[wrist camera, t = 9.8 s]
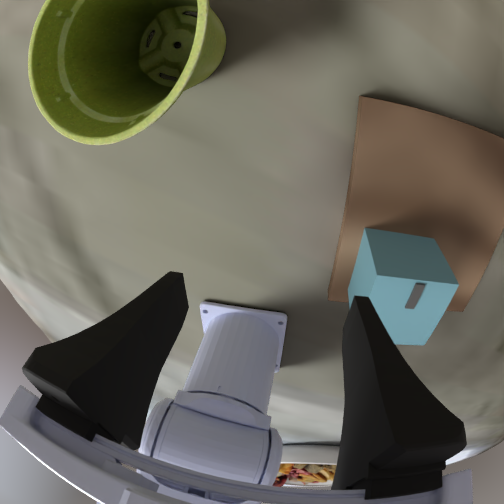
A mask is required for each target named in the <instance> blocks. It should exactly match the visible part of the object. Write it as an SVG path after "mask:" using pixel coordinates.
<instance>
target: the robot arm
mask: <svg viewBox="0 0 504 504" xmlns="http://www.w3.org/2000/svg"><path fill="white" fill-rule="evenodd" d="M188 308H189V305H188V300H187V295H186V289H185V283H184V277H183V273H178V272H172V271H170V272H168V273H167V274H166V275H164V276H163V277H162V278H161V279H159V280H158V281H157V282H156V283H154V284H153V285H152V286H150V287H149V288H148V289H147V290H145V291H144V292H143V293H142V294H140V295H139V296H138V297H136V298H135V299H134V300H132V301H131V302H129V303H128V304H127V305H125V306H124V307H122V308H121V309H120V310H118V311H117V312H115V313H114V314H112V315H111V316H109V317H107V318H106V319H104V320H102V321H101V322H99V323H97V324H95V325H93V326H91V327H89V328H87V329H85V330H83V331H81V332H79V333H77V334H75V335H72V336H70V337H68V338H65V339H62V340H60V341H57V342H54V343H51V344H47V345H44V346H41V347H37V348H35V350H34V351H33V353H32V354H31V356H30V357H29V359H28V360H27V362H26V363H25V365H24V366H23V367H22V370H23V373H24V375H25V376H26V377H27V378H28V380H29V381H30V382H31V383H32V384H33V385H34V386H35V387H36V388H37V389H38V390H39V391H40V392H41V393H42V394H43V395H42V396H41V398H40V399H39V398H38V397H37V396H36V395H34V394H33V393H32V392H30V391H29V390H27V389H26V388H24V387H23V386H21V385H20V386H19V388H18V389H17V391H16V392H15V394H14V396H13V397H12V399H11V401H10V402H9V404H8V406H7V408H6V409H5V411H4V413H3V415H2V417H1V418H0V427H1V428H3V429H4V430H5V431H6V432H7V433H8V434H9V435H10V436H11V437H13V438H14V439H15V440H16V441H17V442H18V443H19V444H20V445H21V446H23V447H24V448H25V449H26V450H27V451H28V452H29V453H31V454H32V455H33V456H34V457H35V458H37V459H38V460H39V461H40V462H41V463H43V464H44V465H45V466H47V467H48V468H49V469H51V470H52V471H53V472H54V473H56V474H57V475H58V476H60V477H61V478H63V479H64V480H66V481H67V482H68V483H70V484H72V485H73V486H74V487H76V488H77V489H79V490H80V491H82V492H84V493H85V494H87V495H88V496H90V497H91V498H93V499H95V500H96V501H97V504H261V502H263V503H271V504H473V489H472V488H473V487H472V470H471V469H467V470H463V471H460V472H455V473H451V474H448V475H445V476H442V470H444V469H445V468H446V462H445V461H446V460H447V459H449V458H451V457H453V456H454V455H456V454H458V453H459V452H460V451H462V450H463V449H464V448H465V447H466V445H467V442H466V434H465V428H464V423H463V422H462V421H461V420H460V419H459V418H457V417H456V416H455V415H454V414H453V413H452V412H450V411H449V410H448V409H447V408H446V407H445V406H444V405H443V404H442V403H441V402H440V401H439V400H438V399H437V398H436V397H435V396H434V395H433V394H432V393H431V392H430V391H429V390H428V389H427V387H426V386H425V385H424V384H423V383H422V382H421V381H420V379H419V378H418V377H417V376H416V374H415V373H414V372H413V370H412V369H411V368H410V366H409V365H408V364H407V362H406V361H405V359H404V358H403V356H402V355H401V353H400V352H399V350H398V349H397V347H396V345H395V344H394V342H393V340H392V339H391V337H390V335H389V333H388V332H387V330H386V328H385V326H384V325H383V323H382V321H381V319H380V317H379V315H378V314H377V312H376V310H375V308H374V306H373V304H372V302H371V300H370V298H369V297H366V296H356V295H354V298H353V301H352V304H351V307H350V310H349V313H348V316H347V319H346V322H345V325H344V328H343V343H342V355H343V371H344V391H345V405H344V417H343V427H342V435H341V442H340V449H339V455H338V460H337V465H336V470H335V475H334V479H333V483H332V487H331V490H312V489H296V488H285V487H275V486H272V485H273V484H274V482H275V479H276V477H277V474H278V471H279V468H280V464H281V459H282V450H283V444H282V439H281V437H280V435H279V433H278V431H277V430H276V429H275V428H271V427H270V423H271V416H268V415H267V410H268V404H269V399H270V394H271V388H272V383H273V377H274V372H279V368H280V362H281V356H282V350H283V343H284V337H285V330H286V324H287V315H286V314H284V313H280V312H272V311H265V310H257V309H250V308H244V307H237V306H230V305H224V304H218V303H212V302H206V301H203V302H201V304H200V311H201V317H202V324H203V330H204V337H203V339H202V342H201V344H200V347H199V349H198V352H197V354H196V357H195V359H194V362H193V365H192V367H191V370H190V372H189V375H188V377H187V380H186V382H185V385H184V388H183V390H182V391H181V390H178V392H177V394H176V397H175V399H174V400H173V399H170V398H165V399H164V400H162V401H160V402H158V403H157V404H156V405H155V406H154V408H153V410H152V411H151V413H150V415H149V417H148V420H147V422H146V425H145V421H146V417H147V413H148V409H149V405H150V402H151V399H152V395H153V392H154V389H155V386H156V383H157V380H158V377H159V374H160V372H161V370H162V367H163V365H164V363H165V361H166V359H167V357H168V355H169V353H170V351H171V349H172V347H173V345H174V343H175V341H176V339H177V336H178V334H179V332H180V330H181V328H182V326H183V323H184V320H185V317H186V314H187V311H188ZM206 310H207V311H206ZM280 321H282V322H280ZM144 425H145V427H144ZM143 429H144V430H143ZM138 448H139V452H136V451H134V450H136V449H138ZM121 463H124V464H126V465H128V466H131V467H133V468H136V469H137V471H136V472H134V471H132V470H130V469H128V468H126V467H123V466H122V464H121Z"/></svg>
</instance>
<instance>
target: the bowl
mask: <svg viewBox="0 0 504 504" xmlns="http://www.w3.org/2000/svg"><path fill="white" fill-rule="evenodd" d="M339 449H340V446H329V445H283V450H282V459H281V464H280V468H279V471H278V474H277V477H276V479H275V482H274V484H273V485H272V486H275V487H281V486H283V485H284V484H286V485H295V486H332V483H333V479H334V475H335V470H336V465H337V460H338V455H339Z"/></svg>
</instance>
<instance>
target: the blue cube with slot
mask: <svg viewBox="0 0 504 504" xmlns="http://www.w3.org/2000/svg"><path fill="white" fill-rule="evenodd" d="M458 286H459V283H458V281H457V279H456V277H455V275H454V273H453V272H452V270H451V268H450V266H449V264H448V262H447V260H446V259H445V257H444V255H443V253H442V251H441V250H440V248H439V246H438V244H437V243H436V241H435V239H433V238H427V237H422V236H415V235H409V234H403V233H397V232H390V231H384V230H377V229H370V228H364V232H363V236H362V240H361V244H360V248H359V251H358V255H357V259H356V263H355V266H354V270H353V274H352V277H351V281H350V284H349V287H348V297H349V309H350V307H351V304H352V301H353V298H354V295H356V296H366V297H369V298H370V300H371V302H372V304H373V306H374V308H375V310H376V312H377V314H378V315H379V317H380V319H381V321H382V323H383V325H384V326H385V328H386V330H387V332H388V333H389V335H390V337H391V339H392V340H393V342H394V344H403V345H425V343H426V342H427V340H428V339H429V337H430V335H431V334H432V332H433V331H434V329H435V327H436V326H437V324H438V322H439V321H440V319H441V317H442V316H443V314H444V312H445V310H446V309H447V307H448V305H449V303H450V301H451V299H452V298H453V296H454V294H455V292H456V290H457V288H458Z"/></svg>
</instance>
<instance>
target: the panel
mask: <svg viewBox="0 0 504 504" xmlns="http://www.w3.org/2000/svg"><path fill="white" fill-rule="evenodd" d="M364 228H370V229H377V230H384V231H390V232H397V233H403V234H409V235H415V236H422V237H427V238H433V239H435V241H436V243H437V244H438V246H439V248H440V250H441V251H442V253H443V255H444V257H445V259H446V260H447V262H448V264H449V266H450V268H451V270H452V272H453V273H454V275H455V277H456V279H457V281H458V283H459V286H458V288H457V290H456V292H455V294H454V296H453V298H452V299H451V301H450V303H449V305H448V307H447V309H446V310H445V311H460V312H463V311H464V309H465V307H466V305H467V304H468V302H469V300H470V298H471V297H472V295H473V293H474V291H475V289H476V287H477V285H478V283H479V281H480V280H481V278H482V276H483V273H484V271H485V269H486V267H487V265H488V263H489V261H490V259H491V256H492V254H493V252H494V250H495V247H496V245H497V243H498V240H499V238H500V235H501V233H502V230H503V228H504V138H502V137H500V136H497V135H495V134H492V133H490V132H488V131H485V130H483V129H480V128H477V127H475V126H472V125H469V124H467V123H464V122H461V121H458V120H455V119H452V118H449V117H446V116H443V115H439V114H436V113H433V112H429V111H426V110H422V109H418V108H414V107H411V106H407V105H402V104H398V103H394V102H389V101H385V100H380V99H375V98H369V97H364V96H359V105H358V116H357V125H356V134H355V143H354V151H353V158H352V166H351V173H350V179H349V186H348V192H347V198H346V204H345V210H344V216H343V221H342V227H341V232H340V237H339V242H338V247H337V252H336V257H335V261H334V266H333V270H332V275H331V279H330V284H329V288H328V300H329V301H338V302H348V303H349V297H348V287H349V284H350V281H351V277H352V274H353V270H354V266H355V263H356V259H357V255H358V251H359V248H360V244H361V240H362V236H363V232H364Z"/></svg>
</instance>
